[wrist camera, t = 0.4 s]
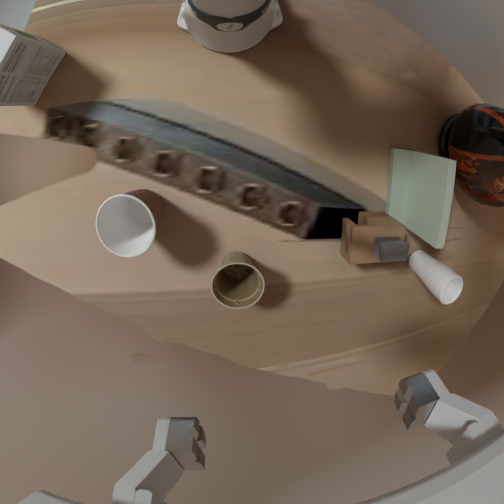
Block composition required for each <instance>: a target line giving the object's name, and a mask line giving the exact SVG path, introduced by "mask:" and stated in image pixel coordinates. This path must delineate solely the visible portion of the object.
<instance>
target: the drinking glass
mask: <svg viewBox="0 0 504 504" xmlns="http://www.w3.org/2000/svg"><path fill="white" fill-rule="evenodd" d="M409 267H410V268H411V270H412V271H414V272H415V274H416V275H417V276H418V277H419V278H420V280H421V281H422V282H423V283H424V284H425V286H426V287H427V288H428V289H429V291H430V292H431V293H432V294H433V295H434V296H435V297H436V298H437V299H438V300H439V301H440V302H441V303H442V304H445V305H446V304H450V303H452V302H454V301H455V300H456V299H457V298H458V296H459V295H460V293H461V291H462V288H463V279H462V278H461V277H460V276H459V275H458V274H457V273H456V272H455V271H453V270H452V269H451V268H449V267H448V266H446V265H445V264H443V263H442V262H440V261H438V260H437V259H435V258H433V257H432V256H430V255H429V254H427V253H426V252H424V251H423V250H417V251H415V252H413V253H412V255H411V256H410V258H409Z"/></svg>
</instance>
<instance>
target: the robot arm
mask: <svg viewBox="0 0 504 504" xmlns="http://www.w3.org/2000/svg"><path fill="white" fill-rule="evenodd" d="M182 2H183V3H182V6H181V10H180V13H179V17H178V21H177V25H178V27H179V28H180V29H182V30H184V31H186V32H189V33H190V34H192V35H193V37H194V38H195V39H196V40H197V41H198V42H199V43H200V44H201V45H203V46H204V47H206V48H208V49H211V50H213V51H217V52H223V53H234V52H240V51H244V50H247V49H249V48H251V47H253V46H255V45H256V44H258V43H259V42H260V41H261V40H262V39H263V38H264V37H265V36H266V34H267V33H268V32H269V31H270V30H272V29H274V28H276V27H278V26H279V25H281V24H282V22H283V17H282V13H281V10H280V7H279V4H278V0H182ZM276 14H277V16H276ZM183 18H184V19H183ZM399 387H400V388H399V389H398V390H397V391H396V393H395V404H396V408H397V410H398V411H399V412H400V413H402V414H403V417H402V420H403V422H404V424H405V426H406V428H407V430H410V429H413V428H416V427H418V426H421V425H423V424H424V425H425V426H427V427H428V428H429V429H431V430H432V431H434V432H435V433H437V434H438V435H440V436H441V437H443V438H444V439H446V440H447V441H449V442H450V443H452V444H453V446H452V447H451V448H450V450H449V451H448V452H447V455H446V456H447V458H448V460H449V462H450V464H451V465H449V466H447V467H446V468H444V469H442V470H440V471H438V472H436V473H434V474H432V475H429V476H427V477H425V478H423V479H421V480H419V481H417V482H414V483H412V484H410V485H407V486H405V487H402V488H400V489H398V490H395V491H392V492H389V493H387V494H384V495H381V496H378V497H375V498H372V499H369V500H366V501H363V502H360V503H356V504H504V429H503V428H502V426H501V425H500V423H499V421H498V420H497V418H496V417H495V415H494V414H493V412H492V411H491V410H489V409H486V408H484V407H482V406H480V405H477V404H475V403H473V402H471V401H469V400H467V399H464V398H462V397H460V396H458V395H456V394H454V393H452V394H450V393H449V391H448V390H447V388H446V387H445V385H444V384H443V383H442V381H441V380H440V378H439V377H438V375H437V374H436V372H435V371H434V370H433V369H429V370H426V371H424V372H420V373H417V374H415V375H412V376H409V377H407V378H404V379H402V380H400V382H399ZM205 447H206V439H205V433H204V429H203V427H201V426H200V425H199V420H198V418H197V417H159V419H158V421H157V426H156V432H155V438H154V443H153V449H152V450H149V451H148V452H147V453H146V454H145V455H144V456H143V457H142V458H141V459H140V460H139V461H138V462H137V463H136V464H135V465H134V466H133V467H132V468H131V469H130V470H129V471H128V472H127V473H126V474H125V475H124V476H123V477H122V478H121V479H120V480H119V481H118V482H117V483H116V484H115V487H114V492H113V497H112V503H111V504H167V503H165V502H164V501H163V500H164V499H165V497H166V495H168V493H169V492H170V490H171V489H172V488H173V486H174V485H175V484H176V482H177V481H178V480H179V478H180V477H181V475H182V474H183V473H184V470H204V469H205V455H204V453H203V452H202V451H203V449H204V448H205ZM18 504H81V503H78V502H75V501H72V500H69V499H66V498H63V497H60V496H57V495H55V494H52V493H49V492H47V491H43V490H38V491H36V492H34V493H32V494H31V495H30V496H28V497H26V498H25V499H23V500H22V501H21V502H19V503H18Z"/></svg>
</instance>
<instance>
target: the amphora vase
mask: <svg viewBox="0 0 504 504" xmlns="http://www.w3.org/2000/svg"><path fill="white" fill-rule="evenodd" d="M439 155H440V157H444V158H448V159H451V160H455V161H456V172H455V181H456V182H457V183H458V185H459V186H460V187H461V189H462V190H463V191H464V193H465V194H466V195H467V196H469V197H470V198H472V199H473V200H475V201H477V202H479V203H480V204H484V205H488V206H493V207H504V109H503V108H501V107H498V106H495V105H491V104H474V105H472V106H469V107H467V108H465V109H464V110H463V111H462V112H461V113H460V114H459V113H458V114H455V115H452V116H450V117H449V118H448V119H447V120H446V122H445V123H444V125H443V127H442V129H441V133H440V137H439Z"/></svg>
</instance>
